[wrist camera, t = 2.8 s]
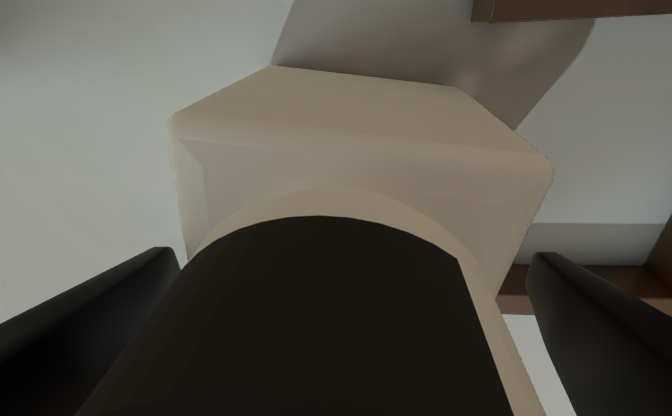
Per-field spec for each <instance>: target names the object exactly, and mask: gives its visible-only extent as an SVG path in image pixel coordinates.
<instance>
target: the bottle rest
mask: <svg viewBox="0 0 672 416" xmlns="http://www.w3.org/2000/svg"><path fill="white" fill-rule="evenodd" d="M658 14H672V0H474V3H473V10H472V17H471V22H474V23H491V24H492V23H511V22H529V21H548V20H566V19H585V18H603V17H621V16H640V15H658ZM529 266H530V265H511V267H510V269H509V271H508V273H507V275H506V277H505V279H504V281H503V283H502V285H501V287H500V289H499V292H498V294H497V296H496V298H495V301H496V303H497V305H498V307H499V310H500V312H501V314H517V315H535V314H534V311H533V308H532V305H531V302H530V298H529V295H528V292H527V289H526V284H525V280H526V276H527V273H528V269H529ZM581 267H583V268H585V269H587V270H588V271H590V272H592V273H594V274H595V275H597V276H599V277H601V278H603V279H604V280H606V281H608V282H610V283H612V284H613V285H615V286H617V287H619V288H621V289H622V290H624V291H626V292H628V293H630V294H631V295H633V296H635V297H637V298H639V299H640V300H642V301H644V302H646V303H648V304H649V305H651V306H653V307H655V308H657V309H658V310H660V311H662V312H664V313H666V314H667V315H669V316H671V317H672V215H671V217H670V219H669V221H668V223H667V224H666V226H665V228H664V230H663V232H662V234H661V235H660V237H659V239H658V241H657V243H656V245H655V246H654V248H653V250H652V252H651V254H650V256H649V257H648V259H647V261H646V263H645V265H644V267H626V266H581Z"/></svg>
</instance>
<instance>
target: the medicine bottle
mask: <svg viewBox="0 0 672 416" xmlns="http://www.w3.org/2000/svg"><path fill="white" fill-rule="evenodd" d="M165 134H166V139H167V145H168V151H169V156H170V162H171V168H172V173H173V179H174V185H175V190H176V196H177V202H178V207H179V213H180V218H181V224H182V230H183V235H184V241H185V247H186V252H187V258H188V262H187V264H186V265H185V266H184V268H183V269H182V270H181V272H180V273H179V274H178V276H177V277H176V278H175V280H174V281H173V283H172V284H171V285H170V287H169V288H168V289H167V291H166V292H165V293H164V295H163V296H162V297H161V299H160V300H159V302H158V303H157V304H156V306H155V307H154V308H153V310H152V311H151V312H150V314H149V315H148V316H147V318H146V319H145V321H144V322H143V323H142V325H141V326H140V327H139V329H138V330H137V331H136V333H135V334H134V335H133V337H132V338H131V340H130V341H129V342H128V344H127V345H126V346H125V348H124V349H123V350H122V352H121V353H120V354H119V356H118V357H117V359H116V360H115V361H114V363H113V364H112V365H111V367H110V368H109V369H108V371H107V372H106V373H105V375H104V376H103V378H102V379H101V380H100V382H99V383H98V384H97V386H96V387H95V388H94V390H93V391H92V392H91V394H90V395H89V397H88V398H87V399H86V401H85V402H84V403H83V405H82V406H81V407H80V409H79V410H78V411H77V413H76V414H75V416H546V414H545V411H544V409H543V407H542V405H541V402H540V400H539V398H538V396H537V393H536V391H535V389H534V387H533V384H532V382H531V380H530V377H529V375H528V373H527V371H526V368H525V366H524V364H523V362H522V359H521V357H520V355H519V353H518V350H517V348H516V346H515V344H514V341H513V339H512V337H511V335H510V332H509V330H508V328H507V325H506V323H505V321H504V319H503V316H502V314H501V312H500V310H499V307H498V305H497V303H496V301H495V298H496V296H497V294H498V292H499V289H500V287H501V285H502V283H503V281H504V279H505V277H506V275H507V273H508V271H509V269H510V267H511V265H512V263H513V261H514V258H515V256H516V254H517V252H518V250H519V248H520V246H521V244H522V242H523V240H524V238H525V236H526V234H527V232H528V230H529V227H530V225H531V223H532V221H533V219H534V217H535V215H536V213H537V211H538V209H539V207H540V205H541V203H542V201H543V199H544V196H545V194H546V192H547V190H548V188H549V186H550V184H551V182H552V180H553V174H554V170H553V168H552V165H551V164H550V162H549V160H548V158H547V157H545V156H544V155H543V154H542V153H540V152H539V151H538V150H537V149H535V148H534V147H533V146H532V145H530V144H529V143H528V142H527V141H525V140H524V139H523V138H522V137H520V136H519V135H518V134H517V133H515V132H514V131H513V130H512V129H510V128H509V127H508V126H507V125H505V124H504V123H503V122H502V121H500V120H499V119H498V118H497V117H495V116H494V115H493V114H492V113H490V112H489V111H488V110H487V109H486V108H484V107H483V106H482V105H481V104H479V103H478V102H477V101H476V100H474V99H473V98H472V97H471V96H469V95H468V94H467V93H466V92H464V91H463V90H462V89H460V88H458V87H454V86H446V85H437V84H428V83H420V82H411V81H403V80H394V79H386V78H377V77H368V76H360V75H351V74H343V73H334V72H326V71H317V70H308V69H300V68H291V67H283V66H274V65H272V66H267V67H265V68H263V69H261V70H260V71H258V72H256V73H254V74H252V75H250V76H248V77H246V78H244V79H242V80H240V81H238V82H236V83H234V84H232V85H230V86H228V87H226V88H224V89H222V90H220V91H218V92H216V93H214V94H212V95H210V96H208V97H206V98H204V99H202V100H200V101H198V102H196V103H194V104H192V105H190V106H188V107H186V108H184V109H182V110H180V111H178V112H176V113H174V115H173V116H172V117H171V118H170V119H169V120H168V122H167V123H166V130H165Z"/></svg>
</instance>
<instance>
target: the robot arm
mask: <svg viewBox="0 0 672 416" xmlns="http://www.w3.org/2000/svg"><path fill="white" fill-rule="evenodd" d="M180 272H181V269H180V266H179V264H178V261H177V258H176V256H175V253H174V251H173V249H172V248H170V247H153V248H151V249H149V250H147V251H145V252H143V253H141V254H139V255H137V256H135V257H133V258H131V259H129V260H127V261H125V262H123V263H121V264H119V265H117V266H115V267H113V268H111V269H109V270H107V271H105V272H103V273H101V274H99V275H97V276H95V277H93V278H91V279H89V280H87V281H85V282H83V283H81V284H79V285H77V286H75V287H73V288H71V289H69V290H67V291H65V292H63V293H61V294H59V295H57V296H55V297H53V298H51V299H49V300H47V301H45V302H43V303H41V304H39V305H37V306H35V307H33V308H31V309H29V310H27V311H25V312H23V313H21V314H19V315H17V316H15V317H13V318H11V319H9V320H7V321H5V322H3V323H1V324H0V416H75V414H76V413H77V411H78V410H79V409H80V407H81V406H82V405H83V403H84V402H85V401H86V399H87V398H88V397H89V395H90V394H91V392H92V391H93V390H94V388H95V387H96V386H97V384H98V383H99V382H100V380H101V379H102V378H103V376H104V375H105V373H106V372H107V371H108V369H109V368H110V367H111V365H112V364H113V363H114V361H115V360H116V359H117V357H118V356H119V354H120V353H121V352H122V350H123V349H124V348H125V346H126V345H127V344H128V342H129V341H130V340H131V338H132V337H133V335H134V334H135V333H136V331H137V330H138V329H139V327H140V326H141V325H142V323H143V322H144V321H145V319H146V318H147V316H148V315H149V314H150V312H151V311H152V310H153V308H154V307H155V306H156V304H157V303H158V302H159V300H160V299H161V297H162V296H163V295H164V293H165V292H166V291H167V289H168V288H169V287H170V285H171V284H172V283H173V281H174V280H175V278H176V277H177V276H178V274H179V273H180ZM525 284H526V289H527V292H528V295H529V298H530V302H531V305H532V308H533V311H534V314H535V317H536V320H537V323H538V326H539V329H540V332H541V335H542V338H543V341H544V343H545V346H546V349H547V351H548V354H549V356H550V358H551V360H552V363H553V365H554V367H555V369H556V371H557V374H558V376H559V378H560V380H561V382H562V384H563V387H564V389H565V391H566V393H567V395H568V398H569V400H570V402H571V404H572V406H573V409H574V411H575V413H576V415H577V416H672V317H671V316H669V315H667V314H666V313H664V312H662V311H660V310H658V309H657V308H655V307H653V306H651V305H649V304H648V303H646V302H644V301H642V300H640V299H639V298H637V297H635V296H633V295H631V294H630V293H628V292H626V291H624V290H622V289H621V288H619V287H617V286H615V285H613V284H612V283H610V282H608V281H606V280H604V279H603V278H601V277H599V276H597V275H595V274H594V273H592V272H590V271H588V270H587V269H585V268H583V267H581V266H579V265H578V264H576V263H574V262H572V261H570V260H569V259H567V258H565V257H563V256H561V255H560V254H558V253H555V252H536V253H535V254H534V255H533V257H532V260H531V263H530V266H529V269H528V273H527V276H526V280H525Z"/></svg>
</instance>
